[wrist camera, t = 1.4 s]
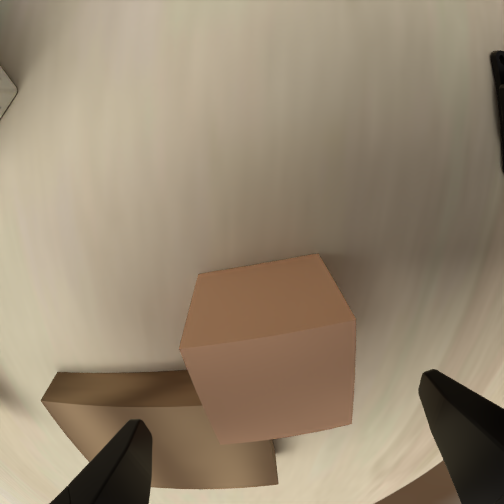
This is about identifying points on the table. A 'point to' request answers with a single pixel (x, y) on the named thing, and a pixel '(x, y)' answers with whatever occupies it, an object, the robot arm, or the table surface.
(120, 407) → the walnut slab
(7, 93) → the ink box
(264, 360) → the terracotta cube
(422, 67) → the table surface
